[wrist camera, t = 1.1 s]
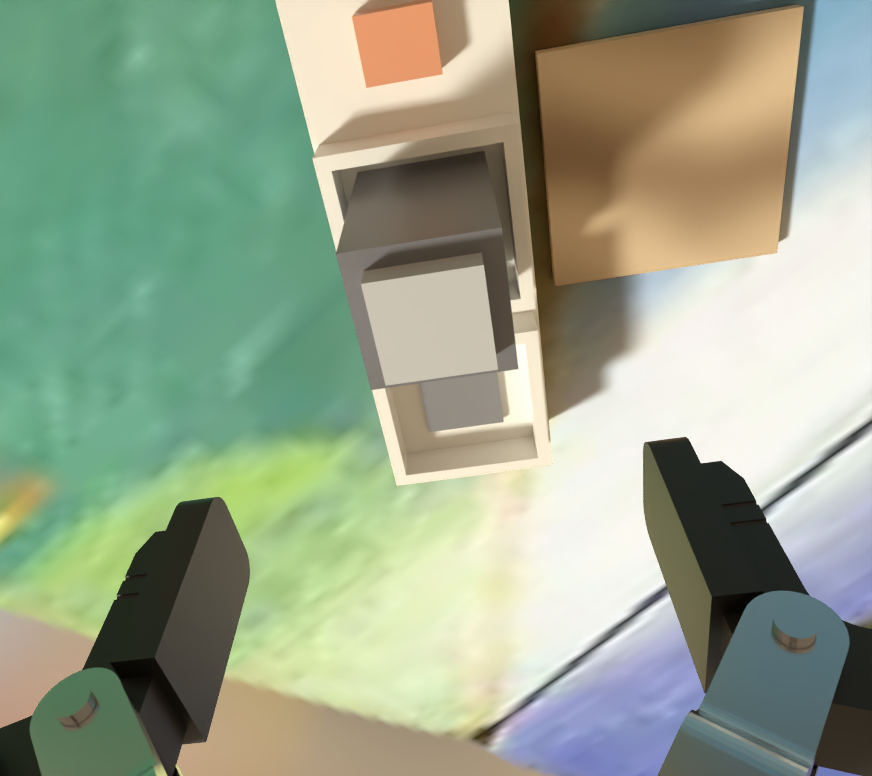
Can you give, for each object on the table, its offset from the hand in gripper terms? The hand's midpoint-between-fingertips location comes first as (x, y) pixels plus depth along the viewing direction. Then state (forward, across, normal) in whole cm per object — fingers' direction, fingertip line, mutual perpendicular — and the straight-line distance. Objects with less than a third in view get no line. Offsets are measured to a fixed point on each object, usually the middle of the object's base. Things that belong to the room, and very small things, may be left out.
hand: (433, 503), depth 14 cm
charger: (+15, 0, 0) cm, 15 cm away
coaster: (+18, -9, 0) cm, 20 cm away
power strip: (+18, 0, 0) cm, 18 cm away
